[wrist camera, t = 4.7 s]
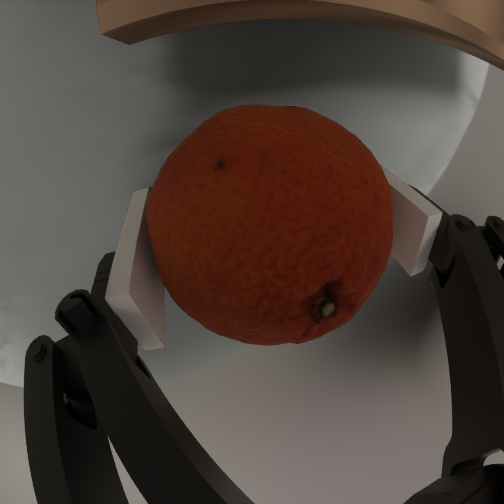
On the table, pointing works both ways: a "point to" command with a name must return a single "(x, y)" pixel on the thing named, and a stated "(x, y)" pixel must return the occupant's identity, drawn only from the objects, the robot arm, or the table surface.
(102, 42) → the table surface
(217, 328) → the fruit
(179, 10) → the tray
